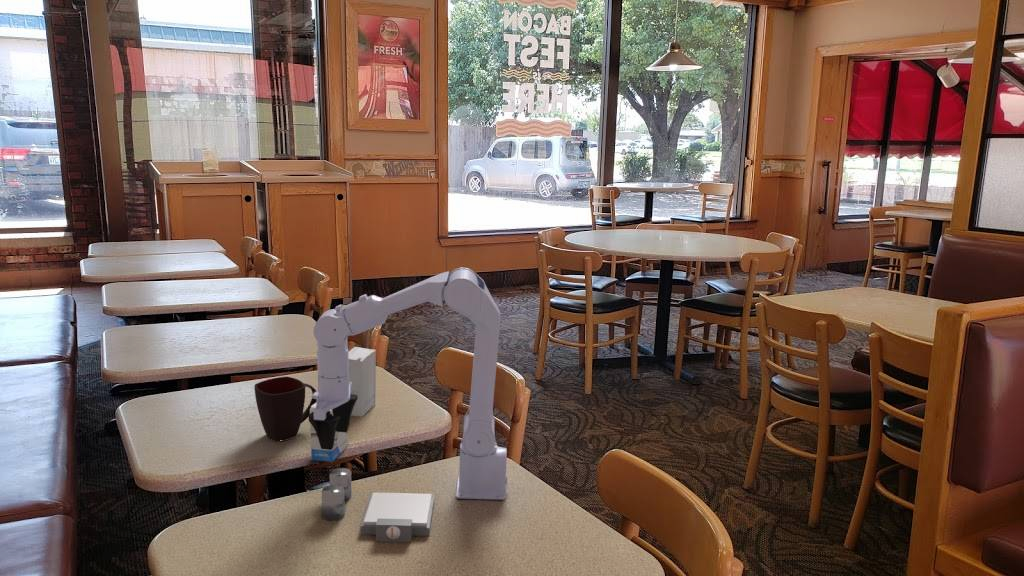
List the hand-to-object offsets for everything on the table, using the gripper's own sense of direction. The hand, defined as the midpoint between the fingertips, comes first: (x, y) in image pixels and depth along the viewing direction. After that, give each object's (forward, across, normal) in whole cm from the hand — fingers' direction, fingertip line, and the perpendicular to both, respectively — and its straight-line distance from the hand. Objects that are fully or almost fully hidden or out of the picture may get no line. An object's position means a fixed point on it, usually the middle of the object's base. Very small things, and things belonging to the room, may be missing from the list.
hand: (334, 439), depth 142 cm
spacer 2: (+10, +10, +3) cm, 14 cm away
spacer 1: (+10, +3, +2) cm, 11 cm away
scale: (+10, +9, +15) cm, 21 cm away
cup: (+10, -21, -19) cm, 30 cm away
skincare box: (+10, -37, -8) cm, 39 cm away
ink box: (+10, -14, -7) cm, 18 cm away
